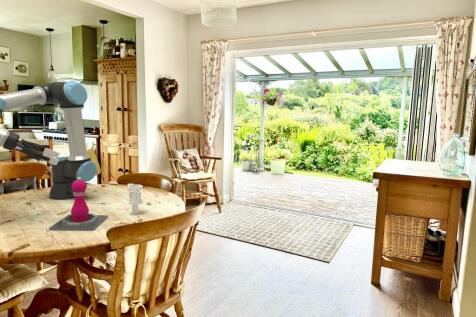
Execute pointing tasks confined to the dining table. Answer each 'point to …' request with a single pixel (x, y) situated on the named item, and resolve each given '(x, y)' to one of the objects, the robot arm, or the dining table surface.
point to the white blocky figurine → (135, 197)
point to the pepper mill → (79, 201)
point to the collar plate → (79, 223)
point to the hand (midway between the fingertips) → (58, 159)
